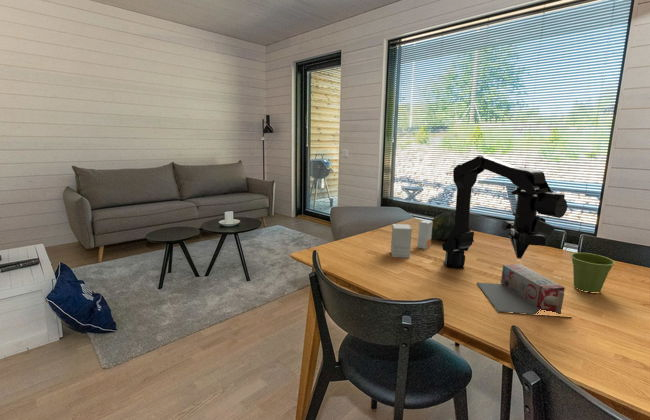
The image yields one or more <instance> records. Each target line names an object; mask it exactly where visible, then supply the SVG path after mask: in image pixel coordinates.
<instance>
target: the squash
mask: <svg viewBox="0 0 650 420" xmlns="http://www.w3.org/2000/svg"><path fill="white" fill-rule="evenodd" d="M431 221H433V226H432V236H431V238H433V239H435V240H442V241H443V240H444V241H448V240H449V235H450V232H451V230H452V229H453V227H454V225H455V213H454V211H447V212H444V213H441V214H438V215H436V216H435V217H433V218H432V220H431Z"/></svg>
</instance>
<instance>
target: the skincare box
mask: <svg viewBox="0 0 650 420" xmlns="http://www.w3.org/2000/svg"><path fill="white" fill-rule="evenodd" d="M432 226H433V221H432V220H428V219H423V220H421V221H419V224H418V234H417V243H416V244H417V245H416V247H417V248H419V249H424V250H426V249H428V248H430V247H431V245H432V244H431V243H432V237H431V236H432Z"/></svg>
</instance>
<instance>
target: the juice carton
mask: <svg viewBox="0 0 650 420" xmlns="http://www.w3.org/2000/svg"><path fill="white" fill-rule="evenodd" d="M500 284H503V285H505V286H506V287H508V288H509V289H511V290H512V291H514V292H515V293H517V294H518V295H520V296H521V297H523V298H524V299H526V300H527V301H529V302H530V303H532V304H533V305H535V306H536V307H538V308H539V309H541V310H546V311H552V312H556V313H558V314H561V309H562V308H563V303H564V296H565V289H566V288H565V286H563V285H561V284H559V283H557V282H555V281H553V280H551V279H549V278H547V277H546V276H544V275H542V274H540V273H538V272H536V271H535V270H533V269H530V268H528V267H526V266H524V265H523V264H521V263H520V264H517V263H516V264H503V265H502V271H501V279H500Z"/></svg>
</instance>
